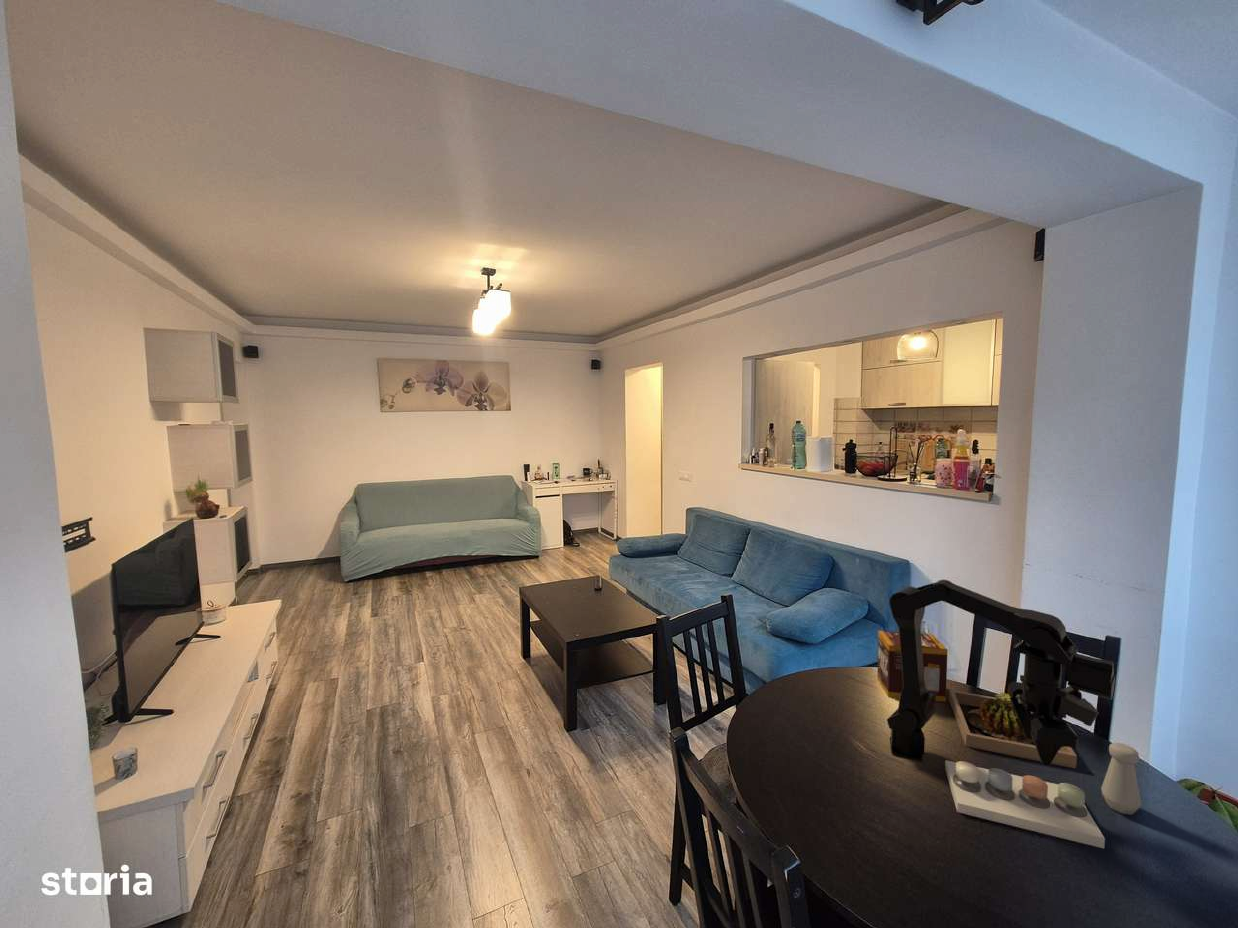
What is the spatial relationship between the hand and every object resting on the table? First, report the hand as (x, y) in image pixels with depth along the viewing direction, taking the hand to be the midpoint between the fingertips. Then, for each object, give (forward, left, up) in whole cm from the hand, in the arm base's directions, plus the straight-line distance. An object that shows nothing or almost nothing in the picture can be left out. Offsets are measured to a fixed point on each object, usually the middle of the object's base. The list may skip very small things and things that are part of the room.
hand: (1037, 751), depth 103 cm
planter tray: (+2, +28, -12) cm, 31 cm away
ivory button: (-12, -1, -8) cm, 15 cm away
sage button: (+6, -1, -8) cm, 10 cm away
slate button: (-6, -1, -8) cm, 10 cm away
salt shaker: (+16, +6, -12) cm, 21 cm away
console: (-3, -1, -12) cm, 12 cm away
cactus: (+2, +29, -13) cm, 32 cm away
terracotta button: (0, -1, -8) cm, 8 cm away
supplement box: (-18, +41, -12) cm, 47 cm away
